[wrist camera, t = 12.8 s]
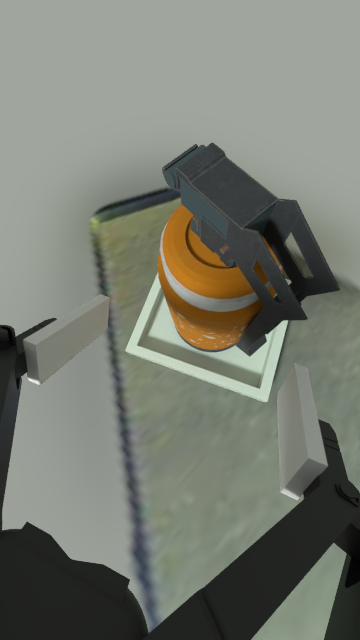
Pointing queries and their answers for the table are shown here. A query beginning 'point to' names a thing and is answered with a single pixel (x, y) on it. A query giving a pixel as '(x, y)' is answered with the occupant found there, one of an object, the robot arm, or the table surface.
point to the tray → (214, 367)
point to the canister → (233, 255)
